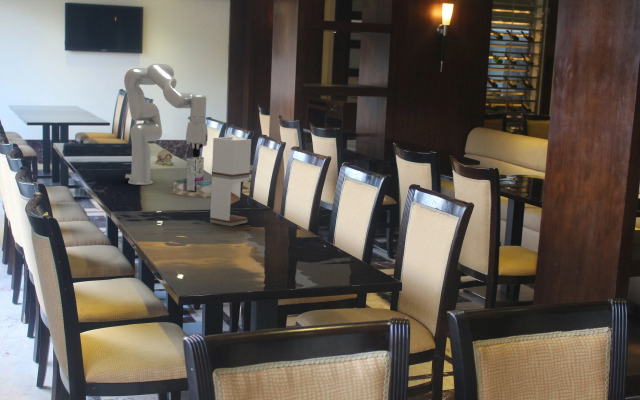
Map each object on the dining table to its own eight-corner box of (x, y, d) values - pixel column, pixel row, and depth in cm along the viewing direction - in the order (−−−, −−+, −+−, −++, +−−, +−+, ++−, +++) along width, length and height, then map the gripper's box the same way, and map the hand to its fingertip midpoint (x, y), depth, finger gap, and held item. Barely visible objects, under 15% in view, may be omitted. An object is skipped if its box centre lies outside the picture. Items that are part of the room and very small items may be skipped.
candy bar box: (194, 188, 405) (195, 156, 404) (203, 189, 404) (204, 157, 402) (185, 190, 394) (186, 157, 393) (195, 191, 393) (196, 157, 392)
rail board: (172, 193, 395) (172, 180, 394) (185, 190, 409) (185, 177, 408) (205, 197, 390) (205, 184, 389) (217, 194, 403) (218, 181, 402)
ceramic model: (152, 163, 507) (152, 147, 506) (168, 162, 514) (168, 147, 512) (161, 166, 496) (162, 150, 494) (178, 165, 503) (178, 149, 501)
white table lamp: (230, 226, 326) (234, 140, 320) (210, 222, 331) (213, 137, 326) (247, 222, 336) (251, 139, 330) (227, 218, 341) (230, 136, 335)
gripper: (180, 119, 393) (179, 156, 396) (208, 121, 389) (206, 159, 392) (187, 118, 400) (186, 154, 403) (214, 120, 396) (213, 157, 399)
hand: (196, 156), depth 398 cm, fingers closed
